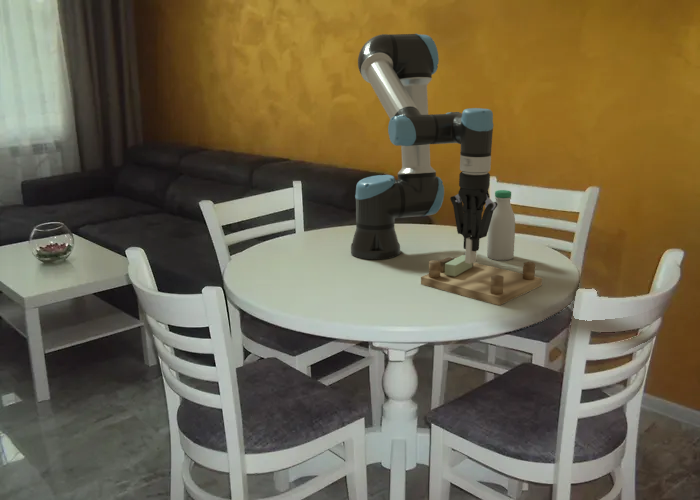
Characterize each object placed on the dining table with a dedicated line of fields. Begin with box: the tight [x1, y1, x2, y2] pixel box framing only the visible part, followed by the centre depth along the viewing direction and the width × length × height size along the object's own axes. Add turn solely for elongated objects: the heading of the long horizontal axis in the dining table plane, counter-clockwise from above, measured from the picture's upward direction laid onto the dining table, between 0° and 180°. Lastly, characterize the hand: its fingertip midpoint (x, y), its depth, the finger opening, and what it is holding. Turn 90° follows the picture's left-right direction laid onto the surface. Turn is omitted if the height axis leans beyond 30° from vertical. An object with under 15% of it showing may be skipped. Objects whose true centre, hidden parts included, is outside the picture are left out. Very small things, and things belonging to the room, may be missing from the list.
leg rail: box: [445, 250, 475, 277], centre depth 181 cm, size 12×3×4 cm, turn 143°
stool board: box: [420, 256, 543, 306], centre depth 175 cm, size 24×20×6 cm
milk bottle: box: [486, 189, 516, 261], centre depth 197 cm, size 8×8×20 cm
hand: (470, 261), depth 174 cm, fingers closed
